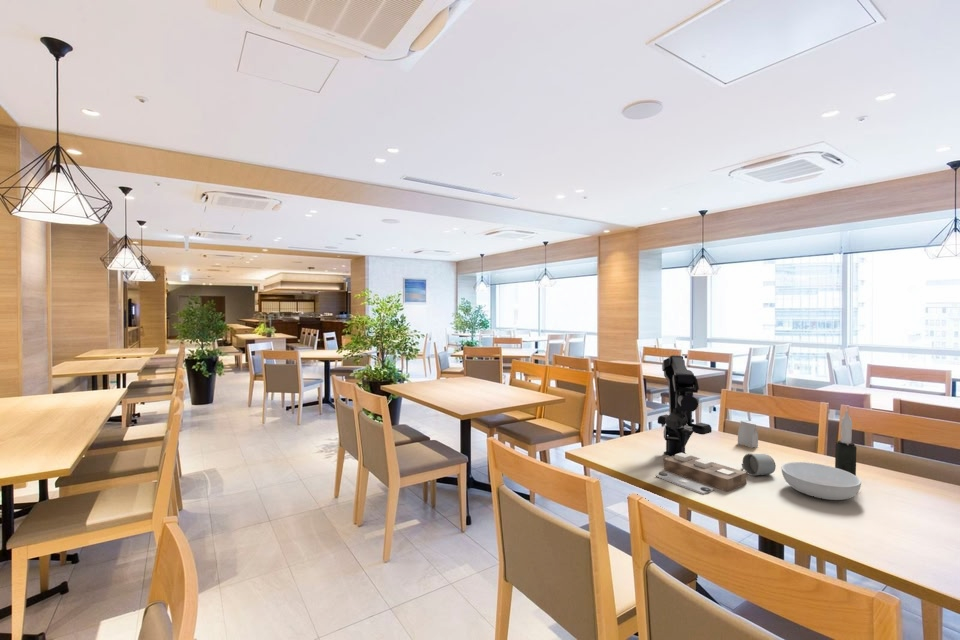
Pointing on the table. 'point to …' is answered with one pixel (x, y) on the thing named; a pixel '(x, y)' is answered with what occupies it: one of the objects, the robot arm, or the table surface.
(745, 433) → the grey angular block
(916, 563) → the table surface
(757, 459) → the ceramic mug
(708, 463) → the middle button
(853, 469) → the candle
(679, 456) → the button
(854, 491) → the serving bowl
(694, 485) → the pattern card
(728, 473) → the button
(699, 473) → the button board
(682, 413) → the robot arm
